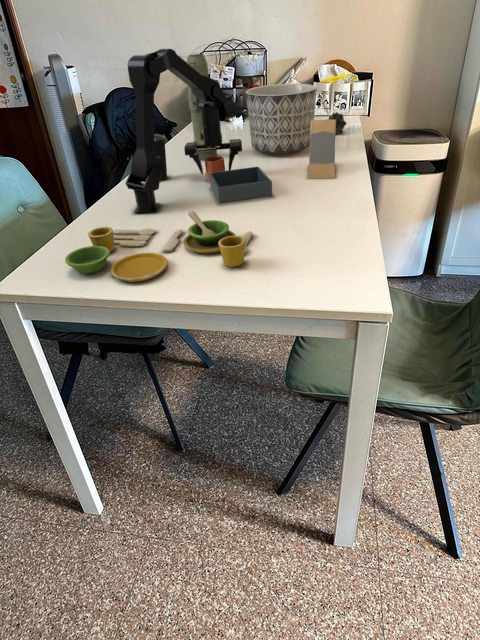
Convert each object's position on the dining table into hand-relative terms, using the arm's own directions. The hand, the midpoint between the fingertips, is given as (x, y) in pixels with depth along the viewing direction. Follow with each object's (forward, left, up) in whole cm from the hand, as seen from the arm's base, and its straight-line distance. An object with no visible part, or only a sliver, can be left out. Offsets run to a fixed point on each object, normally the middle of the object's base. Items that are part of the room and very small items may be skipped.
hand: (216, 173), depth 152 cm
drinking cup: (+5, +20, -2) cm, 21 cm away
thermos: (+29, +5, -2) cm, 30 cm away
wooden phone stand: (+1, -36, -2) cm, 36 cm away
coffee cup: (0, 0, -2) cm, 2 cm away
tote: (-15, -8, -2) cm, 17 cm away
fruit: (+55, -51, -2) cm, 75 cm away
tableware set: (-56, +11, -2) cm, 57 cm away
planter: (+31, -25, -2) cm, 40 cm away
